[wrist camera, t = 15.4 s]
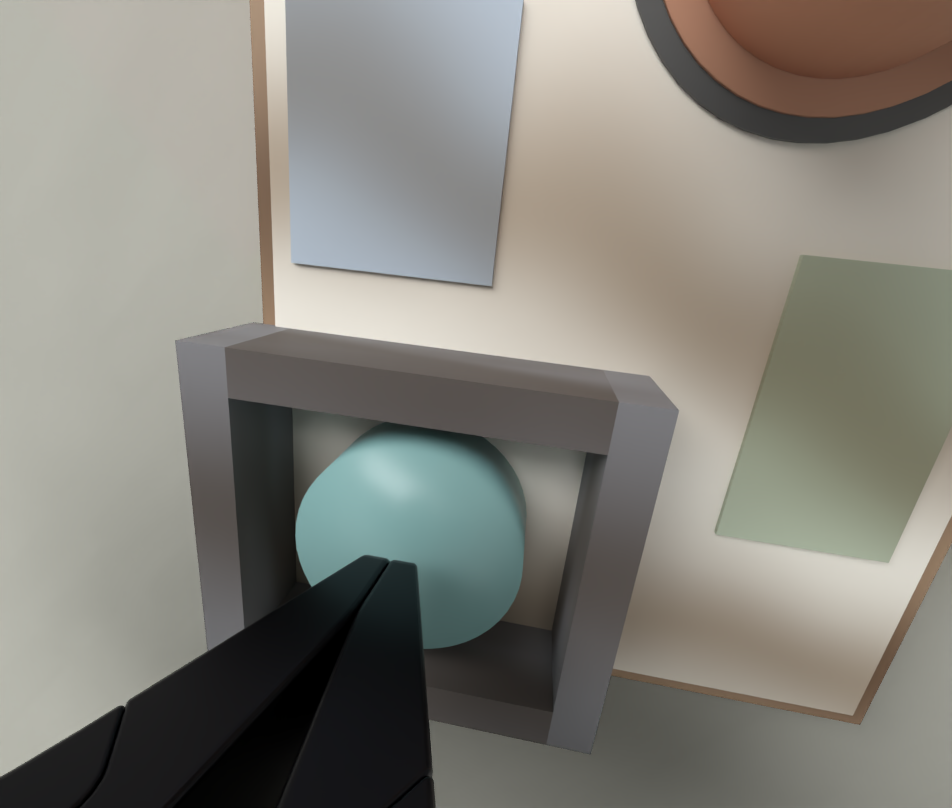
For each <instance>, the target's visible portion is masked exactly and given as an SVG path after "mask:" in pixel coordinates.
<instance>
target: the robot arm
mask: <svg viewBox="0 0 952 808" xmlns="http://www.w3.org/2000/svg"><path fill="white" fill-rule="evenodd" d="M432 773H433V770H432V756H431V743H430V729H429V716H428V702H427V689H426V675H425V662H424V648H423V635H422V621H421V608H420V594H419V581H418V568H417V565H416V564H415V563H411V562H405V561H400V560H392V561H389V560H388V559H387V558H384V557H378V556H373V555H363V556H361V557H359V558H357V559H356V560H354V561H353V562H351V563H349V564H348V565H346V566H345V567H343V568H341V569H340V570H338V571H336V572H335V573H333V574H332V575H330V576H328V577H327V578H325V579H324V580H322V581H320V582H319V583H317V584H315V585H314V586H312V587H311V588H309V589H307V590H306V591H304V592H303V593H301V594H299V595H298V596H296V597H294V598H293V599H291V600H290V601H288V602H286V603H285V604H283V605H281V606H280V607H278V608H277V609H275V610H273V611H272V612H270V613H269V614H267V615H265V616H264V617H262V618H260V619H259V620H257V621H256V622H254V623H252V624H251V625H249V626H248V627H246V628H244V629H243V630H241V631H239V632H238V633H236V634H235V635H233V636H231V637H230V638H228V639H227V640H225V641H223V642H222V643H220V644H218V645H217V646H215V647H214V648H212V649H210V650H209V651H207V652H205V653H204V654H202V655H201V656H199V657H197V658H196V659H194V660H193V661H191V662H189V663H188V664H186V665H184V666H183V667H181V668H180V669H178V670H176V671H175V672H173V673H172V674H170V675H168V676H167V677H165V678H163V679H162V680H160V681H159V682H157V683H155V684H154V685H152V686H151V687H149V688H147V689H146V690H144V691H142V692H141V693H139V694H138V695H136V696H134V697H133V698H131V699H130V700H129V701H128V702H127V703H126V706H125V707H124V706H118V707H116V708H114V709H113V710H111V711H110V712H108V713H106V714H105V715H103V716H102V717H100V718H98V719H97V720H95V721H93V722H92V723H90V724H89V725H87V726H85V727H84V728H82V729H81V730H79V731H77V732H76V733H74V734H72V735H70V736H69V737H67V738H65V739H64V740H62V741H60V742H59V743H57V744H55V745H54V746H52V747H50V748H49V749H47V750H45V751H44V752H42V753H40V754H39V755H37V756H35V757H34V758H32V759H30V760H29V761H27V762H25V763H24V764H22V765H20V766H18V767H17V768H15V769H13V770H12V771H10V772H8V773H6V774H5V775H3V776H1V777H0V808H436V805H435V792H434V780H433V778H432Z"/></svg>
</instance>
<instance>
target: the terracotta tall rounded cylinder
mask: <svg viewBox="0 0 952 808" xmlns="http://www.w3.org/2000/svg"><path fill="white" fill-rule="evenodd" d="M708 1H709V3H710V5H711V7H712V9H713V11H714V13H715V15H716V16H717V17H718V19H719V20H720V22H721V23H722V25H723V26H724V28H725V29H726V30H727V32H728V33H729V34H730V35H731V36H732V37H733V38H734V39H735V40H736V41H737V42H738V43H739V44H740V45H741V46H742V47H743V48H745V49H746V50H747V51H749V52H750V53H751V54H753V55H754V56H755V57H756V58H758V59H760V60H762V61H763V62H765V63H767V64H769V65H771V66H773V67H775V68H777V69H780V70H783V71H786V72H789V73H792V74H795V75H800V76H806V77H812V78H818V79H844V78H852V77H860V76H866V75H870V74H874V73H878V72H882V71H886V70H889V69H892V68H895V67H897V66H900V65H902V64H905V63H907V62H910V61H913V60H915V59H917V58H919V57H921V56H923V55H924V54H926V53H928V52H930V51H932V50H934V49H936V48H938V47H940V46H942V45H944V44H946V43H948V42H949V41H951V40H952V0H708Z"/></svg>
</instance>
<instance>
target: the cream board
mask: <svg viewBox="0 0 952 808" xmlns="http://www.w3.org/2000/svg"><path fill="white" fill-rule="evenodd" d="M250 21H251V44H252V68H253V91H254V114H255V138H256V161H257V184H258V208H259V231H260V255H261V278H262V301H263V324H262V323H254V322H253V323H249V324H245V325H240V326H236V327H232V328H227V329H223V330H219V331H214V332H210V333H206V334H201V335H197V336H193V337H188V338H184V339H180V340H175V343H176V352H177V362H178V371H179V381H180V390H181V400H182V410H183V419H184V429H185V438H186V448H187V458H188V467H189V477H190V486H191V496H192V505H193V515H194V525H195V534H196V544H197V553H198V563H199V572H200V582H201V592H202V601H203V611H204V620H205V630H206V640H207V649H208V651H209V650H210V649H212V648H214V647H215V646H217V645H218V644H220V643H222V642H223V641H225V640H227V639H228V638H230V637H231V636H233V635H235V634H236V633H238V632H239V631H241V630H243V629H244V628H246V627H248V626H249V625H251V624H252V623H254V622H256V621H257V620H259V619H260V618H262V617H264V616H265V615H267V614H269V613H270V612H272V611H273V610H275V609H277V608H278V607H280V606H281V605H283V604H285V603H286V602H288V601H290V600H291V599H293V598H294V597H296V596H298V595H299V594H301V593H303V592H304V591H306V590H307V589H309V588H311V585H310V583H309V581H308V579H307V578H306V576H305V574H304V571H303V569H302V566H301V563H300V561H299V556H298V552H297V548H296V537H295V533H296V520H297V515H298V511H299V508H300V505H301V502H302V500H303V498H304V496H305V494H306V492H307V491H308V489H309V487H310V486H311V485H312V483H313V482H314V481H315V480H316V478H317V477H318V476H319V475H320V474H321V473H322V472H323V471H324V470H325V469H326V468H327V467H328V466H330V465H331V464H332V463H333V462H334V461H335V460H336V459H337V458H338V457H339V456H340V455H341V454H342V453H343V452H344V451H345V450H346V449H347V448H348V447H349V446H350V445H351V444H352V443H353V442H354V441H355V440H356V439H358V438H359V437H360V436H361V435H362V434H364V433H365V432H367V431H368V430H370V429H371V428H373V427H375V426H377V425H379V424H381V423H384V422H390V423H397V424H404V425H410V426H417V427H423V428H430V429H437V430H443V431H450V432H457V433H463V434H470V435H477V436H482V437H484V438H485V439H486V440H488V441H489V442H490V443H491V444H492V445H494V446H495V447H496V448H497V449H498V450H499V451H500V452H501V454H502V455H503V456H504V457H505V458H506V459H507V461H508V462H509V464H510V465H511V466H512V468H513V469H514V471H515V473H516V475H517V477H518V479H519V481H520V484H521V487H522V489H523V493H524V497H525V502H526V513H527V517H526V531H525V545H524V559H523V572H522V579H521V583H520V587H519V590H518V593H517V595H516V597H515V600H514V602H513V603H512V605H511V606H510V608H509V610H508V611H507V612H506V614H505V615H504V616H503V617H502V618H501V619H500V621H499V622H497V623H496V624H495V625H494V626H493V627H492V628H490V629H489V630H488V631H486V632H484V633H483V634H481V635H480V636H478V637H476V638H474V639H471V640H469V641H467V642H464V643H461V644H458V645H454V646H449V647H444V648H433V649H424V662H425V675H426V689H427V702H428V716H429V720H434V721H438V722H443V723H448V724H452V725H457V726H461V727H466V728H471V729H475V730H480V731H485V732H489V733H494V734H499V735H503V736H508V737H512V738H517V739H522V740H526V741H531V742H536V743H540V744H545V745H549V746H554V747H559V748H563V749H568V750H573V751H577V752H582V753H586V754H591V751H592V747H593V743H594V740H595V736H596V732H597V728H598V724H599V720H600V716H601V712H602V709H603V705H604V701H605V697H606V693H607V689H608V685H609V681H610V678H611V676H617V677H622V678H627V679H632V680H637V681H642V682H647V683H652V684H657V685H662V686H667V687H672V688H677V689H682V690H687V691H692V692H697V693H702V694H707V695H712V696H717V697H723V698H728V699H733V700H738V701H743V702H748V703H753V704H758V705H763V706H768V707H773V708H778V709H783V710H788V711H793V712H798V713H803V714H808V715H813V716H818V717H824V718H829V719H834V720H839V721H844V722H849V723H854V724H859V725H860V723H861V721H862V720H863V718H864V716H865V714H866V712H867V710H868V708H869V706H870V704H871V702H872V700H873V698H874V696H875V694H876V692H877V690H878V688H879V686H880V684H881V682H882V680H883V678H884V676H885V674H886V672H887V670H888V668H889V666H890V664H891V662H892V660H893V658H894V656H895V654H896V652H897V650H898V648H899V646H900V644H901V642H902V640H903V638H904V636H905V634H906V632H907V630H908V628H909V626H910V624H911V623H912V621H913V619H914V617H915V615H916V613H917V611H918V609H919V607H920V605H921V603H922V601H923V599H924V597H925V595H926V593H927V591H928V589H929V587H930V585H931V583H932V581H933V579H934V577H935V575H936V573H937V571H938V569H939V567H940V565H941V563H942V561H943V559H944V557H945V555H946V553H947V551H948V549H949V547H950V545H951V543H952V40H951V41H949V42H948V43H946V44H944V45H942V46H940V47H938V48H936V49H934V50H932V51H930V52H928V53H926V54H924V55H923V56H921V57H919V58H917V59H915V60H913V61H910V62H907V63H905V64H902V65H900V66H897V67H895V68H892V69H889V70H886V71H882V72H878V73H874V74H870V75H866V76H860V77H852V78H844V79H818V78H812V77H806V76H800V75H795V74H792V73H789V72H786V71H783V70H780V69H777V68H775V67H773V66H771V65H769V64H767V63H765V62H763V61H762V60H760V59H758V58H756V57H755V56H754V55H753V54H751V53H750V52H749V51H747V50H746V49H745V48H743V47H742V46H741V45H740V44H739V43H738V42H737V41H736V40H735V39H734V38H733V37H732V36H731V35H730V34H729V33H728V32H727V30H726V29H725V28H724V26H723V25H722V23H721V22H720V20H719V19H718V17H717V16H716V15H715V13H714V11H713V9H712V7H711V5H710V3H709V1H708V0H250Z"/></svg>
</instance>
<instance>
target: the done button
mask: <svg viewBox="0 0 952 808" xmlns="http://www.w3.org/2000/svg"><path fill="white" fill-rule="evenodd" d="M526 517H527V513H526V502H525V497H524V493H523V489H522V487H521V484H520V481H519V479H518V477H517V475H516V473H515V471H514V469H513V468H512V466H511V465H510V464H509V462H508V461H507V459H506V458H505V457H504V456H503V455H502V454H501V452H500V451H499V450H498V449H497V448H496V447H495V446H494V445H492V444H491V443H490V442H489V441H488V440H486V439H485V438H484V437H482V436H477V435H470V434H463V433H457V432H450V431H443V430H437V429H430V428H423V427H417V426H410V425H404V424H397V423H390V422H384V423H381V424H379V425H377V426H375V427H373V428H371V429H370V430H368V431H367V432H365V433H364V434H362V435H361V436H360V437H359V438H358V439H356V440H355V441H354V442H353V443H352V444H351V445H350V446H349V447H348V448H347V449H346V450H345V451H344V452H343V453H342V454H341V455H340V456H339V457H338V458H337V459H336V460H335V461H334V462H333V463H332V464H331V465H330V466H328V467H327V468H326V469H325V470H324V471H323V472H322V473H321V474H320V475H319V476H318V477H317V478H316V480H315V481H314V482H313V483H312V485H311V486H310V487H309V489H308V491H307V492H306V494H305V496H304V498H303V500H302V502H301V505H300V508H299V511H298V515H297V520H296V533H295V537H296V548H297V552H298V556H299V561H300V563H301V566H302V569H303V571H304V574H305V576H306V578H307V579H308V581H309V583H310V585H311V587H312V586H314V585H315V584H317V583H319V582H320V581H322V580H324V579H325V578H327V577H328V576H330V575H332V574H333V573H335V572H336V571H338V570H340V569H341V568H343V567H345V566H346V565H348V564H349V563H351V562H353V561H354V560H356V559H357V558H359V557H361V556H363V555H373V556H378V557H384V558H387V559H388V560H389V561H392V560H400V561H405V562H411V563H415V564H416V565H417V568H418V581H419V594H420V608H421V621H422V635H423V648H424V649H433V648H444V647H449V646H454V645H458V644H461V643H464V642H467V641H469V640H471V639H474V638H476V637H478V636H480V635H481V634H483V633H484V632H486V631H488V630H489V629H490V628H492V627H493V626H494V625H495V624H496V623H497V622H499V621H500V619H501V618H502V617H503V616H504V615H505V614H506V612H507V611H508V610H509V608H510V606H511V605H512V603H513V602H514V600H515V597H516V595H517V593H518V590H519V587H520V583H521V579H522V572H523V559H524V545H525V531H526Z"/></svg>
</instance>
